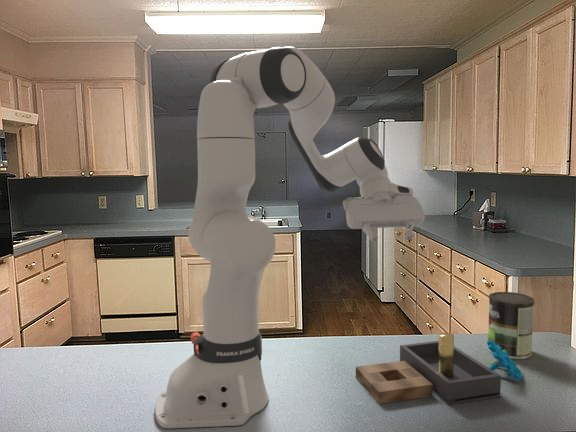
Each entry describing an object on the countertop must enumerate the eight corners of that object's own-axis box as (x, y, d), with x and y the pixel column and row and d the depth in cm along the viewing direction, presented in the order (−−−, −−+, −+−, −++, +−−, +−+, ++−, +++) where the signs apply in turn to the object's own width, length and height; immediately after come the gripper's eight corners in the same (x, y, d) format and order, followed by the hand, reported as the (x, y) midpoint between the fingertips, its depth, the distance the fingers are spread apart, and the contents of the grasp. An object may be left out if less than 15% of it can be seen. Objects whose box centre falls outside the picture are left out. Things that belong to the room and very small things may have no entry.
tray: (448, 404, 89) (448, 383, 89) (399, 363, 109) (400, 345, 108) (500, 396, 92) (500, 375, 92) (444, 357, 112) (444, 340, 111)
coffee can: (494, 358, 110) (496, 302, 109) (482, 342, 121) (483, 291, 119) (539, 360, 109) (541, 303, 108) (523, 344, 119) (525, 292, 118)
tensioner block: (378, 403, 90) (378, 392, 90) (355, 377, 102) (355, 366, 102) (432, 395, 93) (432, 384, 93) (404, 370, 105) (404, 360, 104)
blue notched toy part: (524, 382, 95) (489, 343, 98) (501, 398, 97) (468, 358, 100) (526, 369, 104) (494, 333, 108) (505, 383, 106) (474, 347, 110)
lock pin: (443, 378, 98) (443, 338, 98) (435, 372, 102) (435, 333, 101) (456, 376, 99) (456, 336, 98) (448, 370, 102) (448, 331, 101)
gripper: (343, 190, 117) (354, 232, 108) (417, 188, 120) (434, 229, 111) (338, 206, 122) (349, 248, 113) (410, 203, 125) (426, 244, 116)
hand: (392, 238), depth 112 cm, fingers open, 8 cm apart
